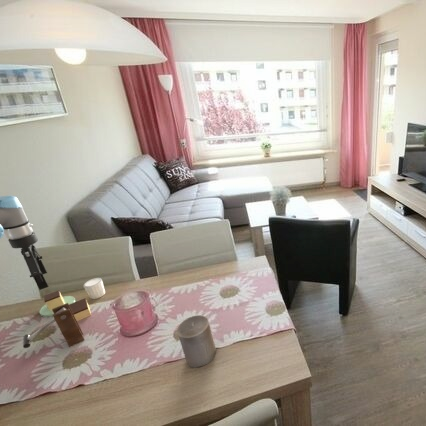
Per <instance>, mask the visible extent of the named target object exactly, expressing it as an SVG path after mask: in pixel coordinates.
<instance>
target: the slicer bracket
mask: <svg viewBox="0 0 426 426" xmlns="http://www.w3.org/2000/svg"><path fill="white" fill-rule="evenodd" d="M63 307H64V308H66V310H64V311H61V312H59V313H56V312H58V311H59V310H60V309H62V308H63ZM52 311H53V312H54V315H53V316H52V318H54V319H55V324H56V325H57V326H58V328H59V330H60V332H61V334H62V336H63V338H64V340H65V342H66V343H67V345H68V347H69V348H71V347H73V346H76V345H78V344H80V343H83V342H84V341H85V337H84V332H83V330H82V328H81V326H80V324H79V321H77V320H76V318H75V316H74V314H73V312H72V310H71V308H70V306H69V304H68V303H66V304H64V305H61V306H59V307H56V308H53V309H52Z"/></svg>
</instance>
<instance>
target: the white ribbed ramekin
mask: <svg viewBox="0 0 426 426" xmlns="http://www.w3.org/2000/svg"><path fill="white" fill-rule="evenodd" d="M82 286H83V288H84V290H85V292H86V293H87V294H88V297H89V298H90V299H91V300H95V299H100V298H102V297H103V296H105V294H106V290H105V285H104V282H103V279H102V278H101V277H95V278H92V279H89V280H87V281H86V282H84V284H83V285H82Z"/></svg>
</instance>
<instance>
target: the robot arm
mask: <svg viewBox="0 0 426 426" xmlns="http://www.w3.org/2000/svg"><path fill="white" fill-rule="evenodd" d="M33 227H34V224H32V223H30V221H29V219H28V216H27V214H26V212H25V209H24V207H23V205H22V204H21V202H20V200H19V199H18V197H17V196H14V195H3V196H0V239H2V237H3V236H5V237H6V239H8V240H7V241H8V243H9V244H10V247H11V248H12V249H20V254H21V255H22V256H23V259H24V261H25V263H26V266H27V268H28V271H29V274H30V275H29V278H33V279H34V282H35V284H36V285H37V288H38V290H39V291H41V290H44V289H46V288H49V283H48V282H47V279H46V278H45V275H46V274H48V271H47V269H46V267H45V265H44V262H43V261H42V259H44V258H43V255H41V254H40V253H39V252H38V251H37V249H36V245H35V244H36V243H37V242H38V237H37V235H36V233H35V232H34V229H33Z"/></svg>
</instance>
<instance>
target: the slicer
mask: <svg viewBox="0 0 426 426" xmlns="http://www.w3.org/2000/svg"><path fill="white" fill-rule="evenodd" d="M64 310H66V308H64V307H63V308H62V309H60V310H59V311H58V312H56V313H59V312H61V311H64ZM54 323H56V321H55V319H54V317H52V319H50V320H49V321H47V323H45V324H44V325H42V326H41V327H40V328H39V329H37V330H36V331H35V332H33V333H32V334H25V335H24V336H23V339H22V340H23V341H22V347H23V349H28V348H30V347H31V341H32V340H34V339H35V338H36V337H37V336H39V335H40V334H41V333H43V332H44V331H46V330H47V329H48V328H49V327H50V326H52V325H53V324H54Z"/></svg>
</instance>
